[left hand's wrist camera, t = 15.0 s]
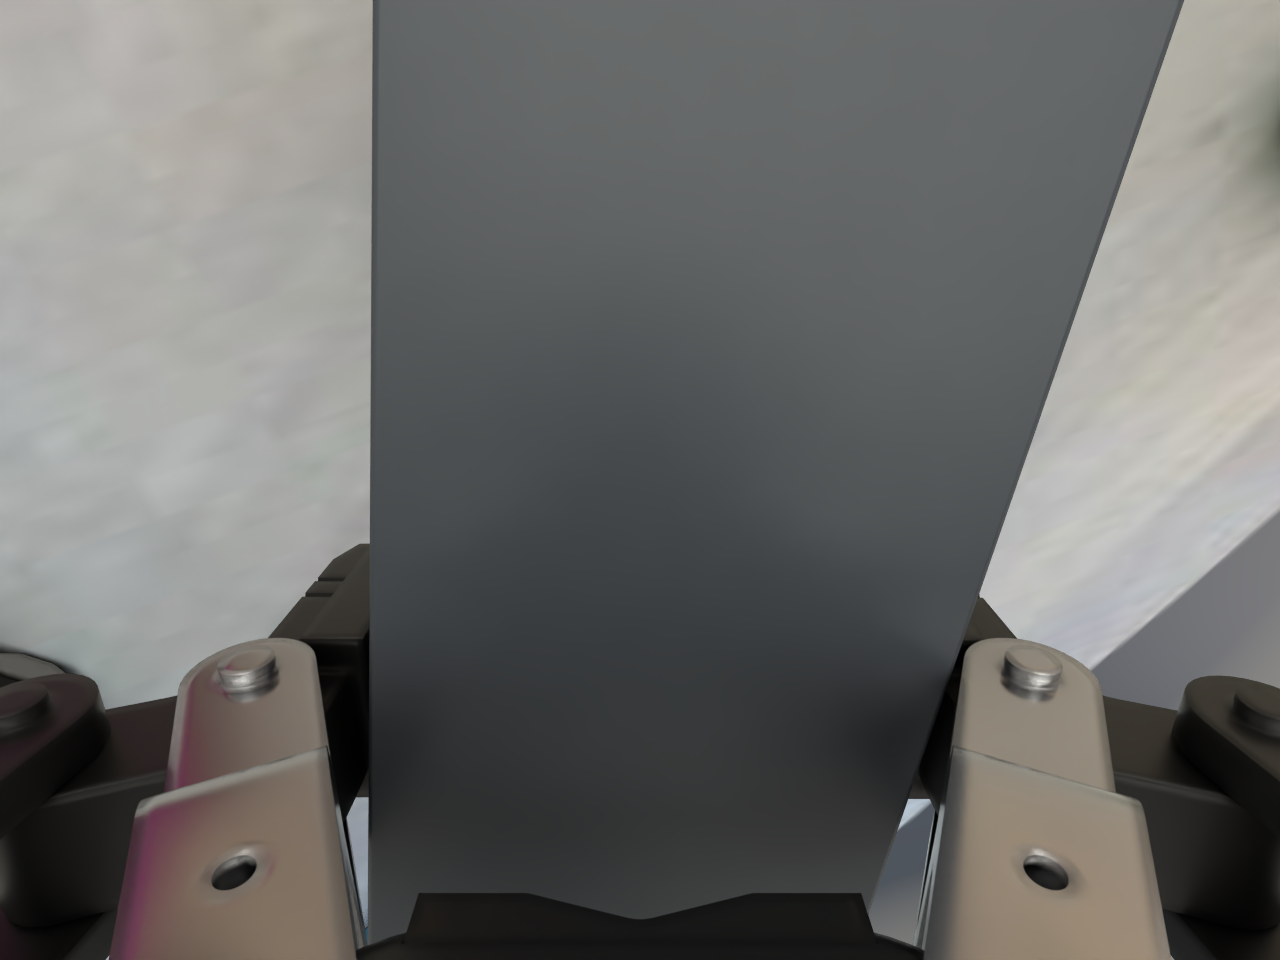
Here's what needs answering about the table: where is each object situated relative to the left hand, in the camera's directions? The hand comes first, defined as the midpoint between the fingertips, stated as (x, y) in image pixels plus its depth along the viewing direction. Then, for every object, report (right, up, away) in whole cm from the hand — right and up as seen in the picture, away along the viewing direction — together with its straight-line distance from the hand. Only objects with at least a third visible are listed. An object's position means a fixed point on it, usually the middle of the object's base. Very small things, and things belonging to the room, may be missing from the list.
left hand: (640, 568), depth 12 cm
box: (+1, +11, +2) cm, 11 cm away
